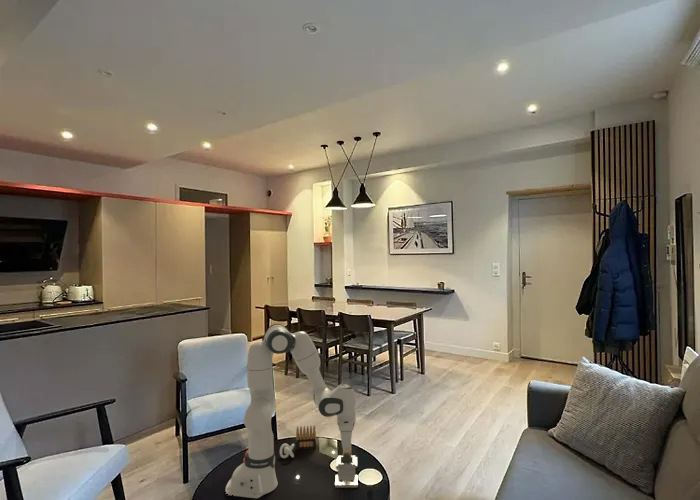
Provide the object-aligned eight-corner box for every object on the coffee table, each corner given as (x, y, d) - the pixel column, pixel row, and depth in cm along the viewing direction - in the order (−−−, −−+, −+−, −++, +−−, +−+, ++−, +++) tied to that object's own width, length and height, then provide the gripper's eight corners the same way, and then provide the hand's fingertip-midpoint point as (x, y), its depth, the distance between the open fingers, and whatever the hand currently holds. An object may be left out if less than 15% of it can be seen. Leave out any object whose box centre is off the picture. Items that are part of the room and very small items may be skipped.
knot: (286, 451, 208) (286, 439, 208) (299, 454, 205) (299, 443, 205) (277, 457, 202) (277, 446, 202) (290, 461, 198) (290, 449, 198)
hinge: (335, 487, 175) (334, 474, 175) (337, 459, 199) (337, 447, 199) (357, 487, 175) (357, 473, 175) (357, 459, 199) (356, 447, 199)
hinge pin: (342, 458, 185) (342, 439, 185) (343, 454, 189) (342, 435, 189) (351, 458, 185) (351, 439, 185) (351, 454, 189) (351, 435, 189)
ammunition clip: (316, 446, 213) (315, 424, 213) (316, 448, 211) (316, 425, 211) (296, 448, 211) (295, 425, 212) (295, 449, 210) (295, 427, 210)
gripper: (340, 410, 198) (340, 438, 198) (338, 428, 177) (339, 460, 177) (352, 410, 198) (353, 438, 197) (353, 428, 177) (353, 459, 177)
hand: (346, 448), depth 187 cm, fingers closed on hinge pin, 4 cm apart
